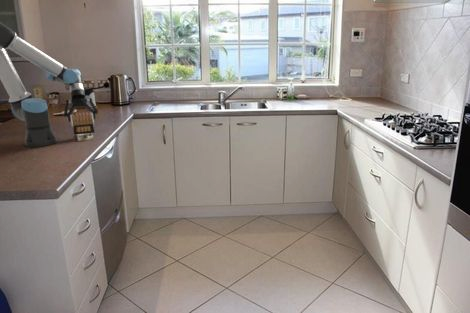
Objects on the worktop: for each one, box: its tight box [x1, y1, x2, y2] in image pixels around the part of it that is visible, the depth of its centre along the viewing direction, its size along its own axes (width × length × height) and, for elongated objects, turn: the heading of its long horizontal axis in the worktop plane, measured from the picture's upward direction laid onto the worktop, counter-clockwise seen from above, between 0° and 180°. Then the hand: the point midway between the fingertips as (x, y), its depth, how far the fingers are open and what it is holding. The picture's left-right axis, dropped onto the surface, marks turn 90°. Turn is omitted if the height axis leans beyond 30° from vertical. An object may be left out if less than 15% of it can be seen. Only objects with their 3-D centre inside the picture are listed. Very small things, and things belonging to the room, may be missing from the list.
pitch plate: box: [76, 133, 95, 142], centre depth 215 cm, size 8×17×2 cm, turn 24°
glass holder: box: [84, 88, 97, 107], centre depth 314 cm, size 9×14×15 cm, turn 77°
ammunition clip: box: [72, 111, 95, 136], centre depth 213 cm, size 11×2×12 cm, turn 109°
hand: (83, 124), depth 211 cm, fingers closed on ammunition clip, 10 cm apart
